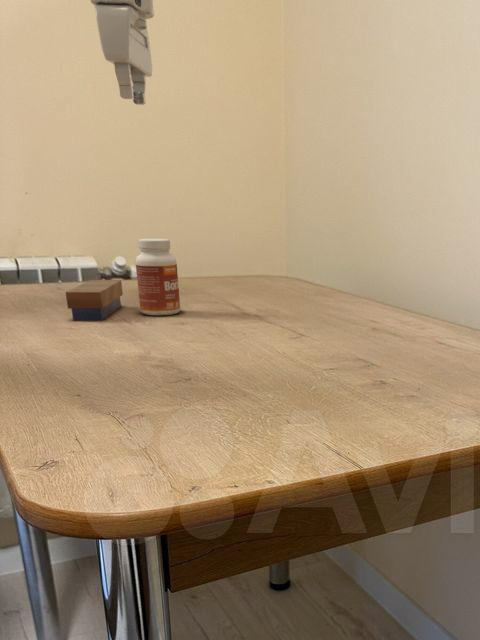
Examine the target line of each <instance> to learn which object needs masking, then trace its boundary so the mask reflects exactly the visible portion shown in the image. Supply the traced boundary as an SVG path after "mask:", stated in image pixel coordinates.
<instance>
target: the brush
mask: <svg viewBox="0 0 480 640" xmlns="http://www.w3.org/2000/svg"><path fill="white" fill-rule="evenodd" d="M122 283H123V282H122V280H121V279H88V281H85V282H84V283H81V284H79V285H77V286H75V287H73V288H71V289H69V290H67V291H65V297H66V298H65V299H66V304H67V309H69V310H70V309H71V314H72V315H71V316H72V321H103V320H105V319H106V318H108V317H109V316H110V315H111V314H113V313H114V312H116V311H117V310H119V308H121V307H122V302H121V297H123V295H124V294H123V293H124V292H123V285H122Z"/></svg>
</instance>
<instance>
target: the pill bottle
mask: <svg viewBox="0 0 480 640" xmlns="http://www.w3.org/2000/svg"><path fill="white" fill-rule="evenodd" d="M137 241H138V249H139V250H140V254H137V256H136V257H135V271H136V281H137V291H138V301H139V310H140V312H141V313H142V314H144V315H147V316H171V315H176V314H178V313H180V311H181V301H180V300H181V299H180V290H179V289H180V288H179V276H178V275H179V274H178V263H177V259H176V257H175V256H174V255H173V254H171V253H170V250H171V239H169V238H139V239H138V240H137Z"/></svg>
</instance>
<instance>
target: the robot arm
mask: <svg viewBox="0 0 480 640" xmlns="http://www.w3.org/2000/svg"><path fill="white" fill-rule="evenodd" d="M89 1H90V3H91V4H92V5H93V6H94V12H95V19H96V24H97V25H96V26H97V30H98V36H99V41H100V46H101V50H102V54H103V57H104V59H105V60H106V61H107V62H109V63H110V64H112V65H113V66H114V73H115V76H116V81H117V84H118V88H119V96H120V98H122V99H123V100H132V102H133V104H135V105H136V106H145V104H146V102H147V101H146V86H147V79H146V78H150V77H152V75H153V63H152V62H153V61H152V53H151V45H150V40H149V37H150V36H149V32H148V25H147V20H149V19H150V20H151V19H152V18H154V16H155V12H154V11H155V10H154V1H153V0H89Z"/></svg>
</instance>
